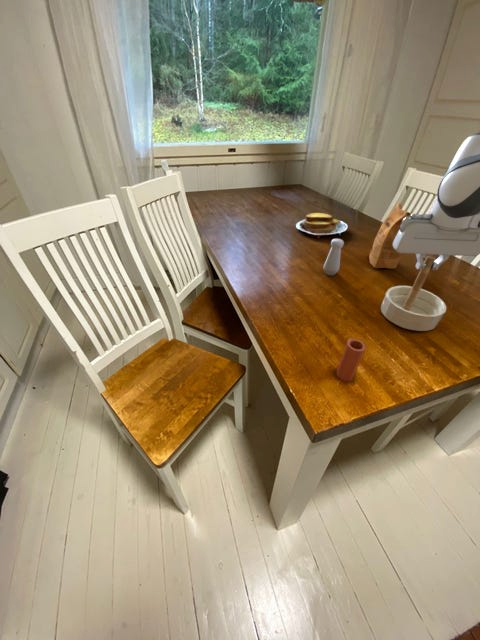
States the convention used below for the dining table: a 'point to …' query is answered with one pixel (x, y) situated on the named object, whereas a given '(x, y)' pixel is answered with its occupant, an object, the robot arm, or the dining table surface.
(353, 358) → the utensil holder
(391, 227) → the coffee package
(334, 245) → the salt shaker
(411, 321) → the bowl
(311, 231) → the food on plate
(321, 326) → the dining table surface
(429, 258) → the stirring stick
